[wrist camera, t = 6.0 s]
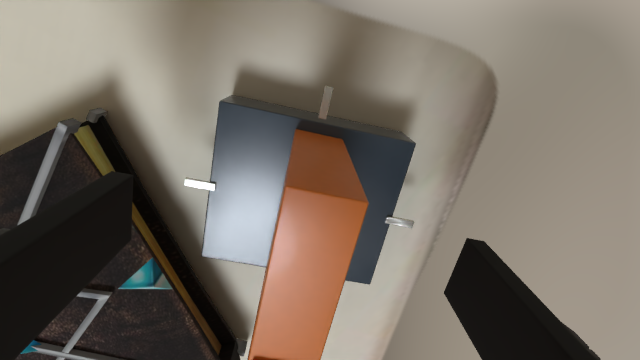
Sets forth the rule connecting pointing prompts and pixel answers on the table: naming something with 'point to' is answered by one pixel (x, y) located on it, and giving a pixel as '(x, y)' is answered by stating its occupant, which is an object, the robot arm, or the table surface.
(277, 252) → the orange handle lever
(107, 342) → the book
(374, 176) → the plate
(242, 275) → the table surface
